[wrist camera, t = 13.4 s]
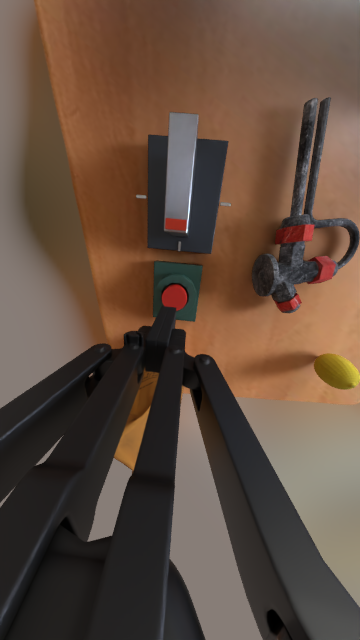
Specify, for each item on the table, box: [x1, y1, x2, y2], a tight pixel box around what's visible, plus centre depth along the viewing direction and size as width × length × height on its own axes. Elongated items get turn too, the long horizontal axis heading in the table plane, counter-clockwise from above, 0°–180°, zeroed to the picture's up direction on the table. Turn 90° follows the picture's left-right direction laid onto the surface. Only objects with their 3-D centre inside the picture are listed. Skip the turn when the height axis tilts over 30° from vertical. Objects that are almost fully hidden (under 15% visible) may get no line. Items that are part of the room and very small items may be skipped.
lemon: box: [314, 354, 360, 389], centre depth 31 cm, size 6×6×8 cm
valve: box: [252, 97, 360, 313], centre depth 24 cm, size 6×26×15 cm
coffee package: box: [114, 368, 183, 473], centre depth 27 cm, size 10×12×22 cm
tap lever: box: [164, 112, 198, 237], centre depth 19 cm, size 9×2×8 cm, turn 175°
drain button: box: [162, 284, 187, 311], centre depth 27 cm, size 4×4×2 cm
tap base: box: [136, 135, 231, 254], centre depth 24 cm, size 13×13×3 cm
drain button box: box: [153, 261, 203, 322], centre depth 29 cm, size 10×8×4 cm
